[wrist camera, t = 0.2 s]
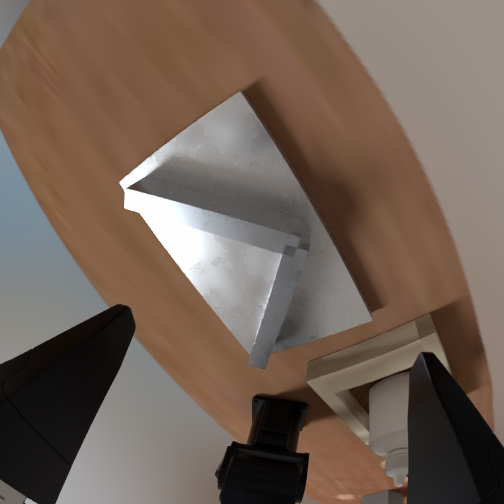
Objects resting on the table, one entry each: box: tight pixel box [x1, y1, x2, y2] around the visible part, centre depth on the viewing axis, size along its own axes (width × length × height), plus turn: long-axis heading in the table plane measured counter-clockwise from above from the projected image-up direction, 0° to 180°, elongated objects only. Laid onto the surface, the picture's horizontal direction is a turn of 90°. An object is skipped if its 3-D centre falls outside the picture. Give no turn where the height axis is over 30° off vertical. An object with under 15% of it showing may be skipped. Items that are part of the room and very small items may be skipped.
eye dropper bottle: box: [369, 371, 410, 487], centre depth 24 cm, size 4×6×12 cm
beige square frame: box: [306, 313, 454, 445], centre depth 28 cm, size 16×13×2 cm
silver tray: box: [119, 91, 373, 369], centre depth 23 cm, size 12×20×4 cm, turn 33°
